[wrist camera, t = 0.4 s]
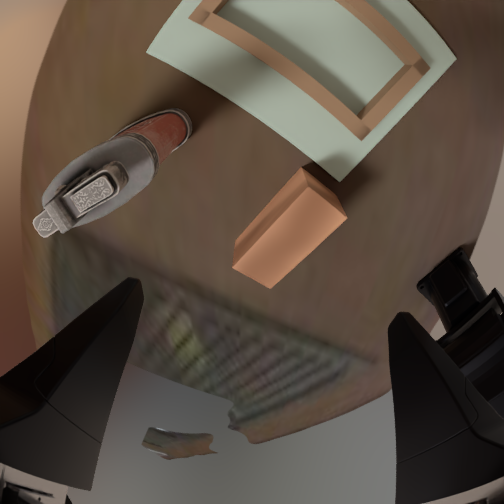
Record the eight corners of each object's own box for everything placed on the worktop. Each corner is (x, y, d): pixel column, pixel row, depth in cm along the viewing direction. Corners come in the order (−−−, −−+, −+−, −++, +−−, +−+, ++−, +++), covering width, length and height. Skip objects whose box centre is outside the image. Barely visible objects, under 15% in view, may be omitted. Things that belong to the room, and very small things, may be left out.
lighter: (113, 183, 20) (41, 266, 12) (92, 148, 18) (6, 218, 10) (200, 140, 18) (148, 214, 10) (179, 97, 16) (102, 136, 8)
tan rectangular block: (335, 193, 20) (347, 217, 17) (269, 259, 24) (270, 288, 21) (300, 165, 19) (308, 186, 16) (235, 239, 23) (232, 267, 20)
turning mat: (453, 58, 12) (466, 60, 11) (338, 180, 19) (343, 189, 18) (276, -86, 6) (277, -95, 5) (148, 52, 14) (138, 52, 12)
